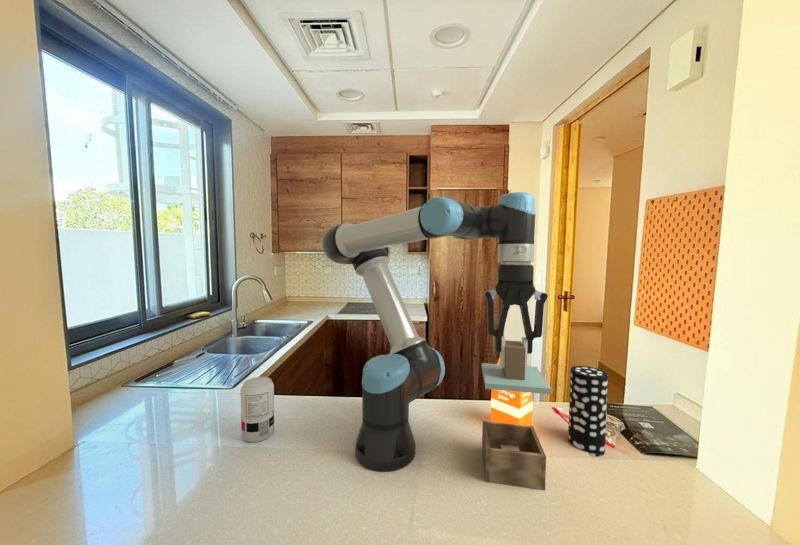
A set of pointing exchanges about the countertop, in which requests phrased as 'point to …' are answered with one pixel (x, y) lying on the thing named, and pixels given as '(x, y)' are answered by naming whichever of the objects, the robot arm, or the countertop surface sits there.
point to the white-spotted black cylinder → (588, 409)
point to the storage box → (513, 455)
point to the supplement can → (257, 409)
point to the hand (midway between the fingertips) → (513, 366)
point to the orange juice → (511, 407)
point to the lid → (514, 373)
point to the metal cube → (510, 447)
